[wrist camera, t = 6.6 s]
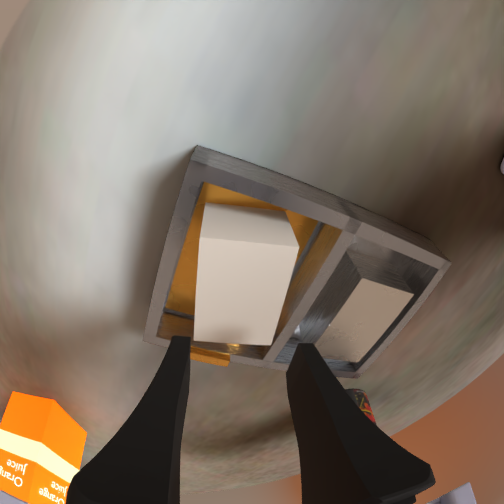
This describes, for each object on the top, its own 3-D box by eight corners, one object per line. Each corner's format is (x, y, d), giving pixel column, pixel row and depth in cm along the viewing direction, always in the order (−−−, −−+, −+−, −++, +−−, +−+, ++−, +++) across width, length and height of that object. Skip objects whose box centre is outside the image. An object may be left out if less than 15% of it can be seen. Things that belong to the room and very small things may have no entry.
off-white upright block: (285, 211, 15) (299, 247, 12) (264, 301, 18) (270, 345, 15) (205, 202, 15) (199, 237, 12) (197, 296, 18) (193, 340, 15)
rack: (429, 239, 17) (457, 268, 15) (347, 351, 23) (359, 384, 20) (197, 144, 14) (188, 163, 11) (150, 309, 19) (140, 348, 16)
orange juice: (54, 399, 26) (22, 550, 9) (88, 433, 30) (70, 560, 13) (11, 390, 25) (-25, 520, 8) (45, 424, 30) (22, 539, 13)
